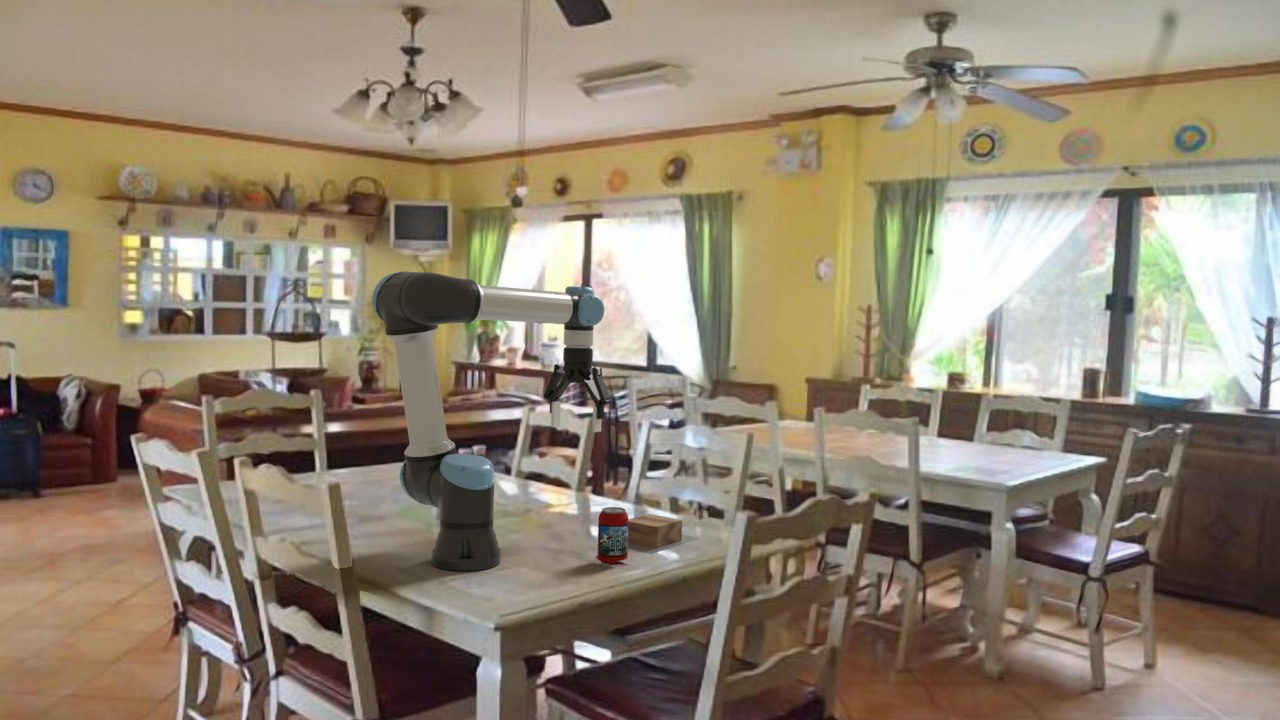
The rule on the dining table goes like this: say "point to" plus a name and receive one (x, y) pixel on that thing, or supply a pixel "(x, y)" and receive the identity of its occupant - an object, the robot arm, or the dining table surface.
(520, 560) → the dining table surface
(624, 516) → the beverage can
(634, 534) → the walnut block
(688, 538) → the flat plate
